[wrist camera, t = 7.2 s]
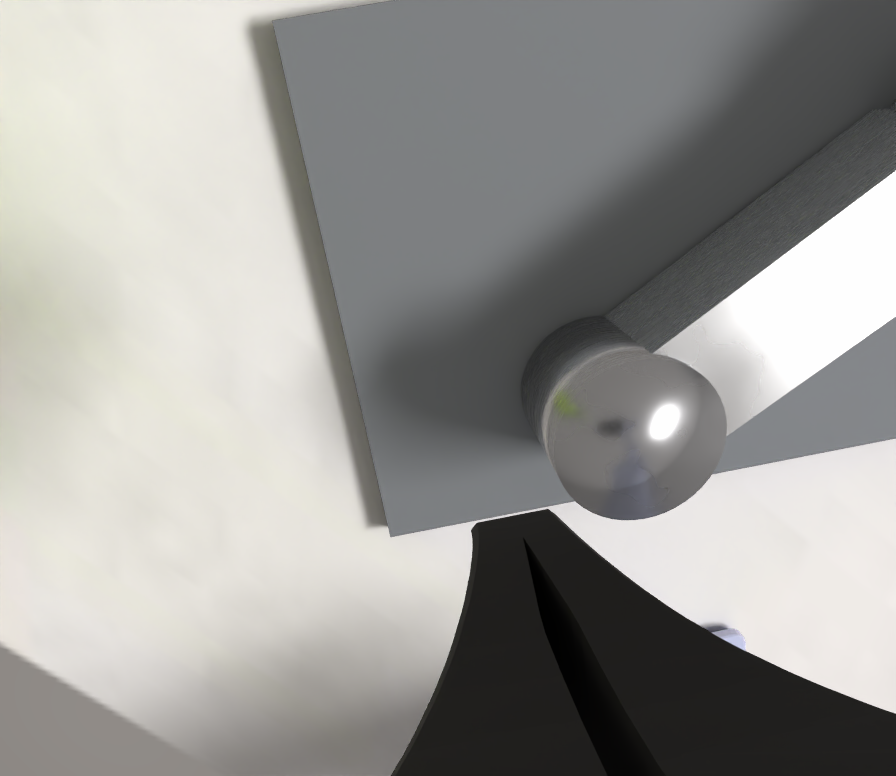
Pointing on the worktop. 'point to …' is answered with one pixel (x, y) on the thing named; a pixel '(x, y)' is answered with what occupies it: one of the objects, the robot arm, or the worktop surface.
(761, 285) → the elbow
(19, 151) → the worktop surface
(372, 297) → the duct board
